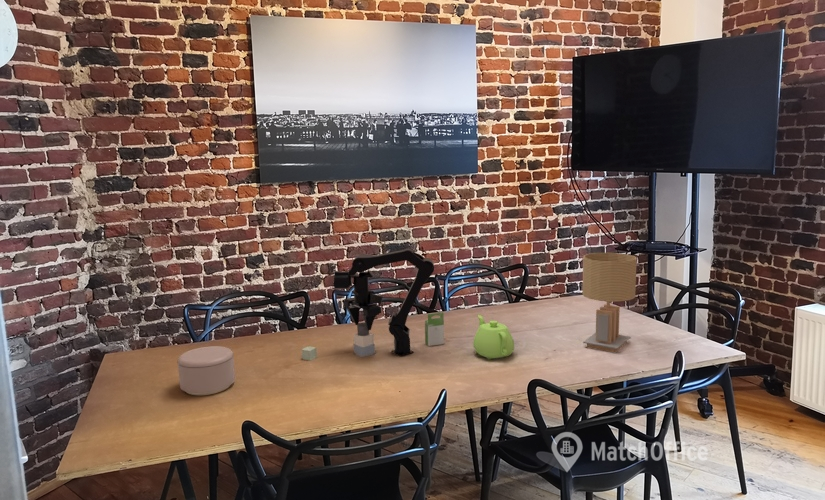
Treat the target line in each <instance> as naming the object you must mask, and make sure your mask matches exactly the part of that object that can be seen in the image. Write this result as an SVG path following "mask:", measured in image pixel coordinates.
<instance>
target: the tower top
mask: <svg viewBox="0 0 825 500" xmlns="http://www.w3.org/2000/svg"><path fill="white" fill-rule="evenodd" d="M374 342H375V339H374V333H371V332H369V335H367V336H358V332H357V333H354V334H353V345H354V344H355V345H358V346H361V347H366V346H369V345H372V344H375V343H374Z"/></svg>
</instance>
